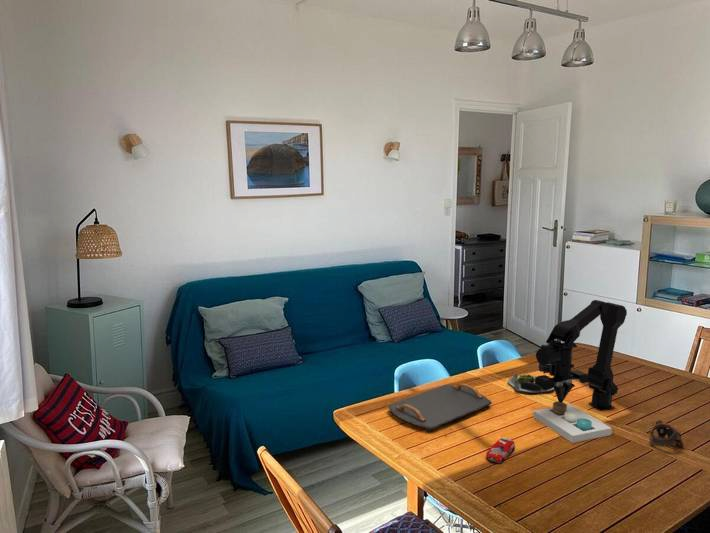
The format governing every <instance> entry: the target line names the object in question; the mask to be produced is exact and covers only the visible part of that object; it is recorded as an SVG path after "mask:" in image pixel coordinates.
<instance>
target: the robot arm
mask: <svg viewBox="0 0 710 533" xmlns="http://www.w3.org/2000/svg"><path fill="white" fill-rule="evenodd" d="M627 314H628V312H627V308H626V307H625V306H624V305H622V304H618V303H613V302H609V301H606V302H605V301H603V300H598V299H593V300H592V301H591V302H590V304H588V305H587V306H585V308H583V309H582V310H581V311H579V312H578V313H577V314H576V315H575V316H574V317H572V318H570V319H567V320H563V321H561V322H559V323H557V324H555V325H554V327H553V329H552V330H551V332H550V334H549V336H548V337H547V339H546V342H545V343H546V344H541V345H540V348H539V349H538V350H536V353H535V358H536V361H537V362H538V371H539V372H541V373H543V374H541V375H538V376H537V375H536V378H535V384H537V385H539V386H541V387H542V388H544V389H550V388H553V387H554V392H555V395H556V398H557V402H560V403H561V402H563V401H564V400H565V399H566V397H567V396H568V395H569V393H570V392H571V390H572V389H573V388H574V387H575V386H576V384H574V383H573V381H574V380H578V381H579V383H581V384H585V383H588V388H589V389H592V390H593V391H592V395H591V401H590V402H588V404H589V405H590V406H592V407H594V408H595V409H598V410H599V411H607V410H613V409H615V406H614V405H612V399H613V396H615V395H616V394H618V390H619V387H618V386H617V385H616V383H615V382H614V373H613V370H612V367H611V365H612V360H613V354H614V350H615V345H616V340H617V335H618V331H619V330H618V329H619V328H620V327H621V326H623V324H624V323H625V320H626V317H627ZM597 318H599V319H600V322H601V325H602V330H601V335H600V340H599V345H598V351H597V356H596V361H595V364H593V365H592V366H589V367H588V369H587V370H588V372H587V373H585V372H583V371H580V370H579V369H575V370H572V369H573V368H575V364H574V363H573V362H572V360H573V359H572V358H573V349H574V348H577V347H578V345H577V344H576V343H575V341H577V339H579V337H580V336H581V331H582V330H584V328H585V327H587V326H588V325H589V324H590V323H592V322H593V321H594V320H596V319H597ZM546 374H548V375H549V376H548V375H546ZM550 376H553V377H550ZM563 403H564V402H563Z"/></svg>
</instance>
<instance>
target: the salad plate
mask: <svg viewBox="0 0 710 533" xmlns="http://www.w3.org/2000/svg"><path fill="white" fill-rule="evenodd" d="M536 377H537V375H531V374H523V373H520V375H519V376H518V374H517V373H513V375H512V377H511V378H508V379H507V383H508V384H509V386H511V387H513V389H515V391H517V392H519V393H520V394H524V395H529V396H535V395H536V396H537V394H539V395H548V394H551V393H552V392H555V390H554V387H553V388H550V389H544V388H542V387H541V386H539V385H537V384H535V378H536Z"/></svg>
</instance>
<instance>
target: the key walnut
mask: <svg viewBox="0 0 710 533" xmlns="http://www.w3.org/2000/svg"><path fill="white" fill-rule="evenodd" d="M567 405H568V404H566V403H565V402H561V403H560V402H559V401H554V402H552V407H553V413H554V414H556V415H558V416H562V415H564V414H565V412H566V411H567Z"/></svg>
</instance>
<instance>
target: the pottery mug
mask: <svg viewBox="0 0 710 533" xmlns="http://www.w3.org/2000/svg"><path fill="white" fill-rule="evenodd" d="M655 430H656V433H657V435H658V436H656V435H655V434H654V432H655ZM649 433H650V434H649V444H650V445H651V446H657V447H669V446H674V447H677V444H676V443H678V444H679V445H680V446H681V448H682V449H684V441H683V439H682V433H681V432H680V430H679V429H677V428H676V427H674V426H673V425H671V424H670V423H666V422H664V421H662V420H657V421H655V424H654V425H653V426H652V427H651V428H650V431H649ZM666 436H667V437H666ZM665 437H666V438H665Z"/></svg>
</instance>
